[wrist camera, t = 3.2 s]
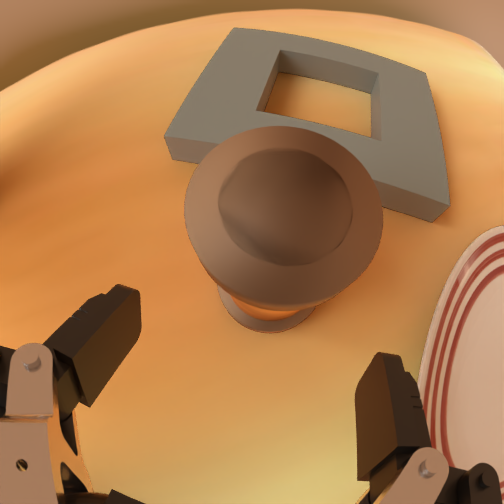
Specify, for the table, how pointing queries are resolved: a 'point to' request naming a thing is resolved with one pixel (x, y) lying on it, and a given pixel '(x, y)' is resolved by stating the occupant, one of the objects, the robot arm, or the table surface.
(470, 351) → the dinner plate
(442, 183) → the grey rectangular frame
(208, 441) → the table surface
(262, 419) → the table surface
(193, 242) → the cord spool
